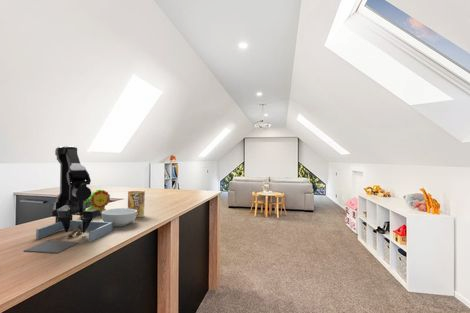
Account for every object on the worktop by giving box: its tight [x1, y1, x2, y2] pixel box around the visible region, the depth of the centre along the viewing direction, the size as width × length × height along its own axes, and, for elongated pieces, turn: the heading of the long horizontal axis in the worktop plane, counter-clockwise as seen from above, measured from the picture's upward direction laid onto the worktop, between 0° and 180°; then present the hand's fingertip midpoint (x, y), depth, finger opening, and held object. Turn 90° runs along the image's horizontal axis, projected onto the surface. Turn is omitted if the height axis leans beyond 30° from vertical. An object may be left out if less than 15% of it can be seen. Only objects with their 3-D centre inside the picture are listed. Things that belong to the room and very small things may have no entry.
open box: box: [35, 219, 114, 243], centre depth 109 cm, size 24×16×4 cm, turn 86°
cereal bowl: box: [101, 207, 137, 227], centre depth 127 cm, size 17×17×7 cm
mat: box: [23, 239, 80, 254], centre depth 93 cm, size 13×11×1 cm
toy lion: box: [79, 189, 111, 218], centre depth 145 cm, size 16×5×15 cm, turn 144°
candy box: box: [127, 190, 146, 218], centre depth 145 cm, size 9×4×15 cm, turn 103°
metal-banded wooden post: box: [67, 224, 83, 239], centre depth 108 cm, size 2×8×4 cm, turn 178°
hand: (75, 232), depth 108 cm, fingers open, 8 cm apart
